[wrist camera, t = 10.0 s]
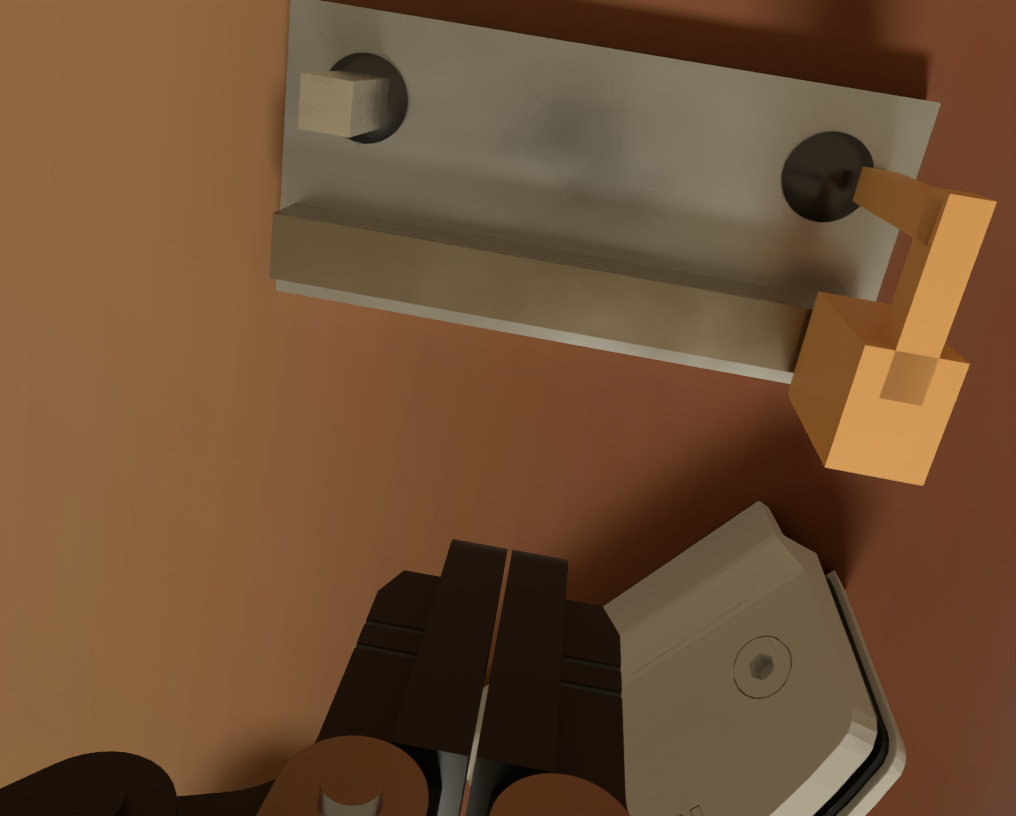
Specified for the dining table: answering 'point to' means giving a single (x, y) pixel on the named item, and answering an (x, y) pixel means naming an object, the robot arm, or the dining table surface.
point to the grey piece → (578, 188)
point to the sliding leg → (892, 339)
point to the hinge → (748, 685)
